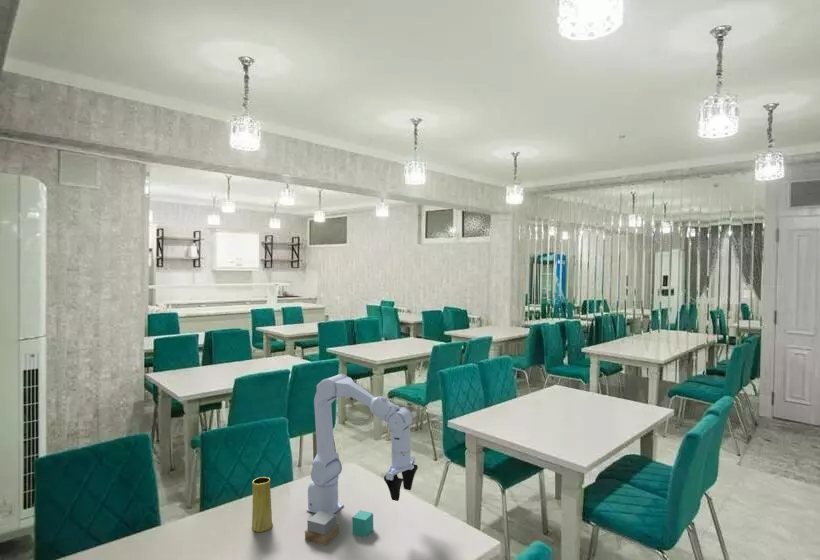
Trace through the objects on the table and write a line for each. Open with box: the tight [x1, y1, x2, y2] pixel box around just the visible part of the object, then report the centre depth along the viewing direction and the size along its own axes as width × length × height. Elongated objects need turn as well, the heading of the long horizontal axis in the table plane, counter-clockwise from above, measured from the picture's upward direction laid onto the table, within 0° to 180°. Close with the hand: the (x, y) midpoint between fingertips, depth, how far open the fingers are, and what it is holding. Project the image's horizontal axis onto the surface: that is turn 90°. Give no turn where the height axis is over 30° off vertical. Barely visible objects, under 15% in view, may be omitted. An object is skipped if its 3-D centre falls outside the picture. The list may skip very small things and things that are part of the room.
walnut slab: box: [304, 523, 340, 546], centre depth 136 cm, size 7×7×3 cm
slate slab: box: [306, 511, 338, 535], centre depth 136 cm, size 6×6×3 cm
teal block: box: [351, 509, 374, 538], centre depth 139 cm, size 4×4×5 cm
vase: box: [251, 476, 273, 533], centre depth 142 cm, size 6×6×14 cm
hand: (401, 494), depth 141 cm, fingers open, 7 cm apart
